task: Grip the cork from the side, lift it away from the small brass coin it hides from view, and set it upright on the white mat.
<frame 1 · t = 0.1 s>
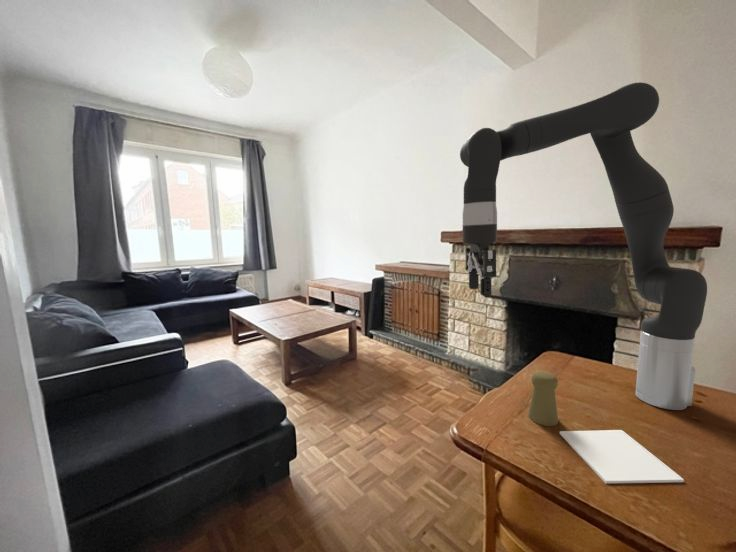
hand: (479, 291, 72), 29 cm above the table, tool pointing down, fingers open, 8 cm apart
brass coin: (543, 407, 74), on the table
white mat: (614, 454, 58), on the table
cork: (542, 418, 70), on the table
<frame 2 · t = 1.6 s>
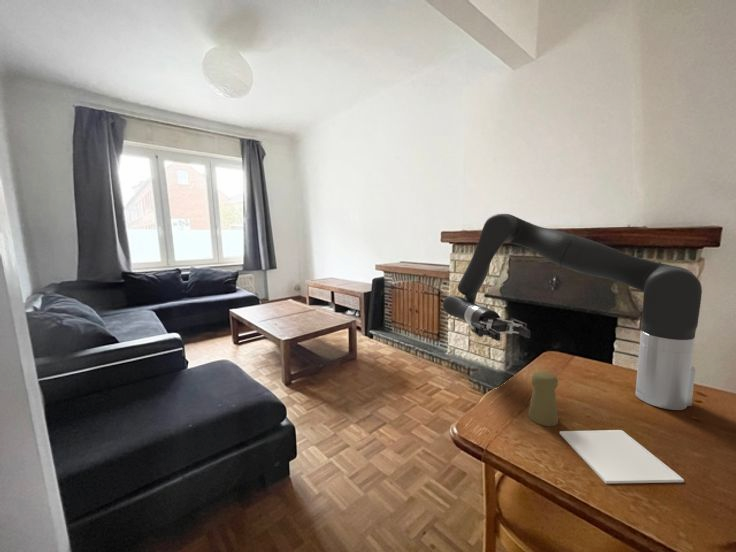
hand: (514, 335, 78), 16 cm above the table, tool horizontal, fingers open, 8 cm apart
nothing on the table moved.
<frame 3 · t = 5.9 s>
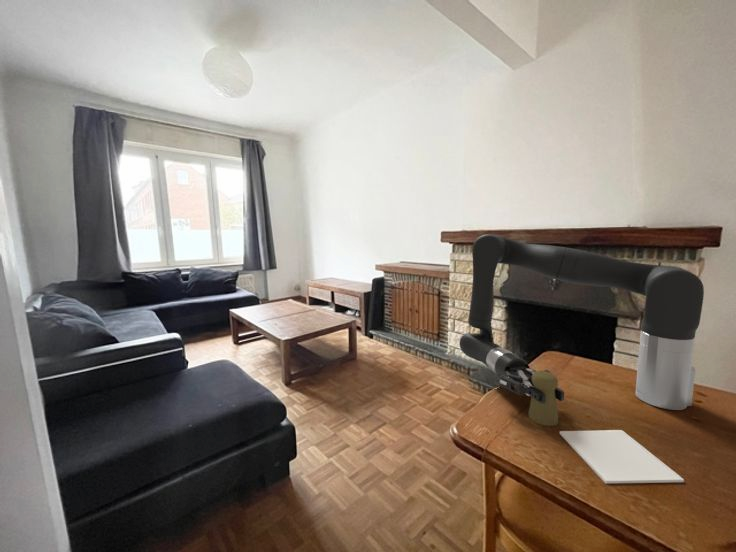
hand: (553, 398, 66), 7 cm above the table, tool horizontal, fingers closed on cork, 4 cm apart
cork: (542, 418, 70), on the table, touching gripper
everything else where it was.
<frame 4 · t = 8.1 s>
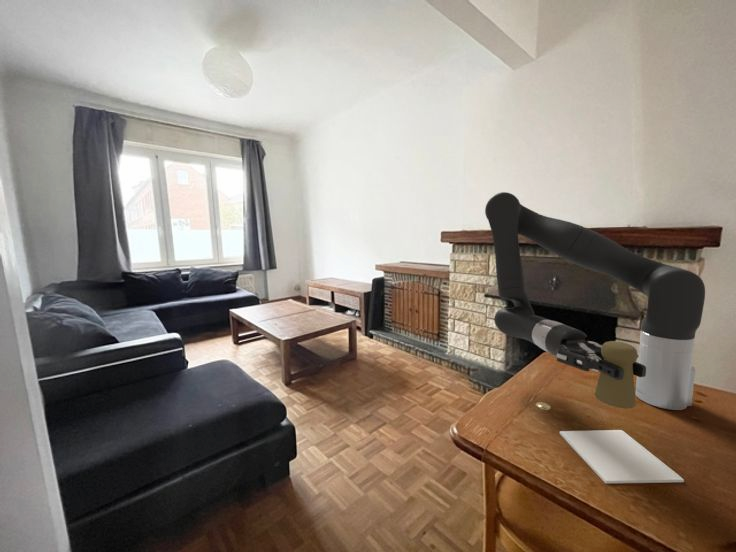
hand: (632, 373, 53), 18 cm above the table, tool horizontal, fingers closed on cork, 4 cm apart
cork: (614, 400, 57), point 11 cm above the table, touching gripper
everything else where it was.
when the fingers open (8 cm above the table, at t = 10.3 s): cork stays where it is, point 1 cm above the table.
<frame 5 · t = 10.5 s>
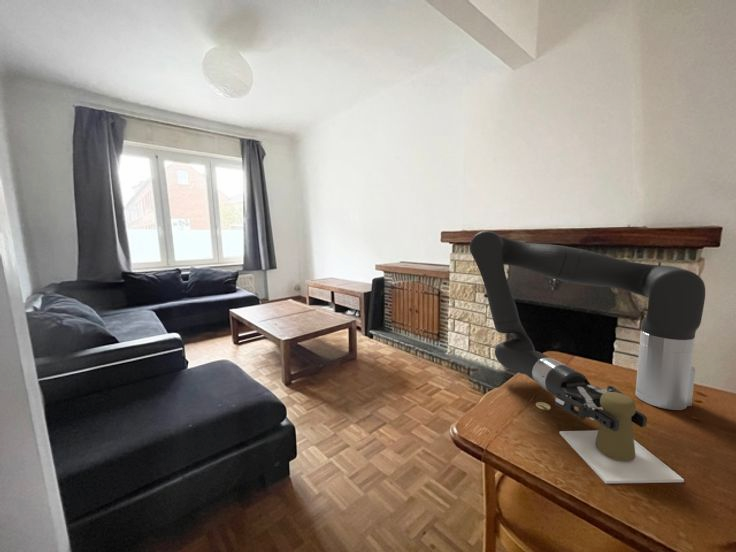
hand: (630, 424, 54), 8 cm above the table, tool horizontal, fingers open, 5 cm apart
cork: (614, 450, 58), point 1 cm above the table, touching gripper
everything else where it was.
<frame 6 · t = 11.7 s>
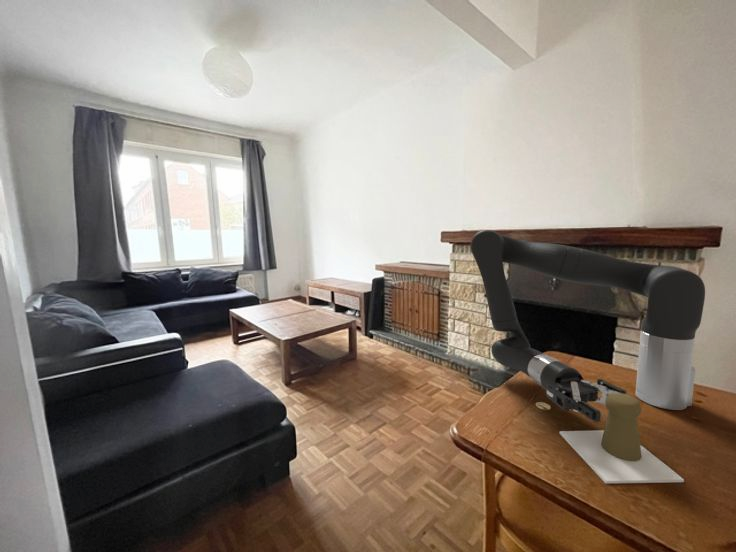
hand: (618, 414, 56), 8 cm above the table, tool horizontal, fingers open, 8 cm apart
cork: (620, 450, 58), resting on white mat, touching gripper
everything else where it was.
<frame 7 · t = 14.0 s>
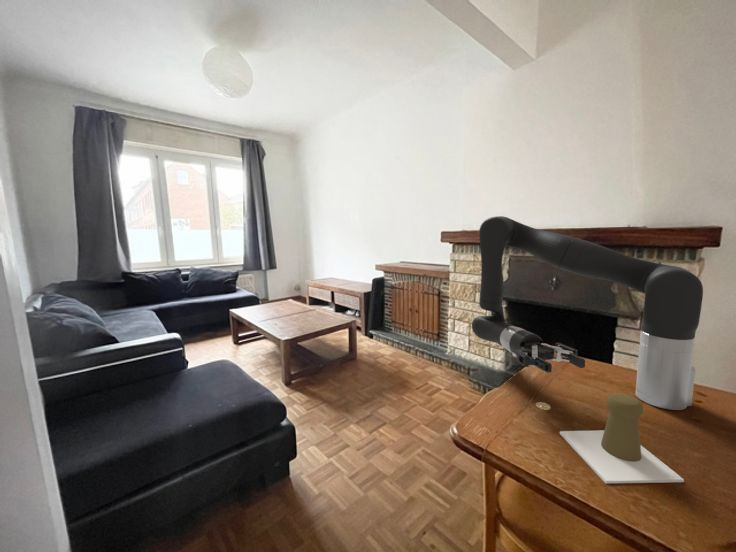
hand: (567, 366, 68), 12 cm above the table, tool horizontal, fingers open, 8 cm apart
cork: (620, 450, 58), resting on white mat
everything else where it was.
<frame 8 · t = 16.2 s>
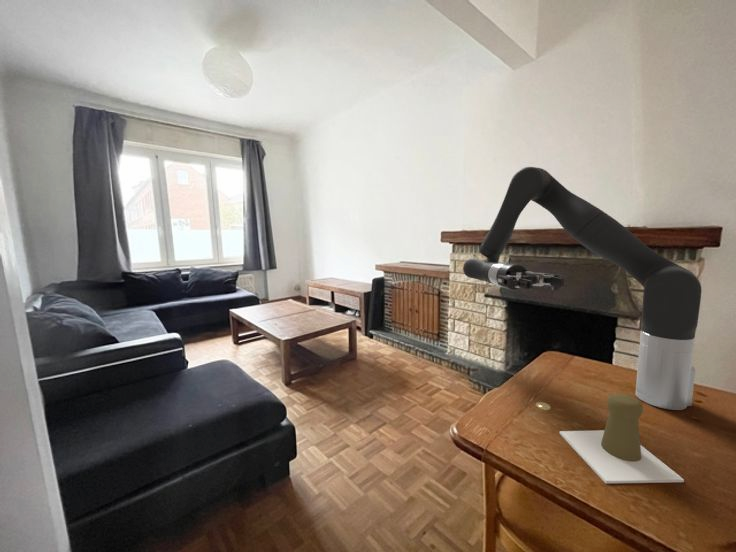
hand: (547, 284, 73), 30 cm above the table, tool horizontal, fingers open, 8 cm apart
nothing on the table moved.
at the end: cork inside the target area on the white mat (1.8 cm from its centre), point 0.3 cm above the white mat's base; cork tilted 0°; the gripper is holding nothing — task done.
